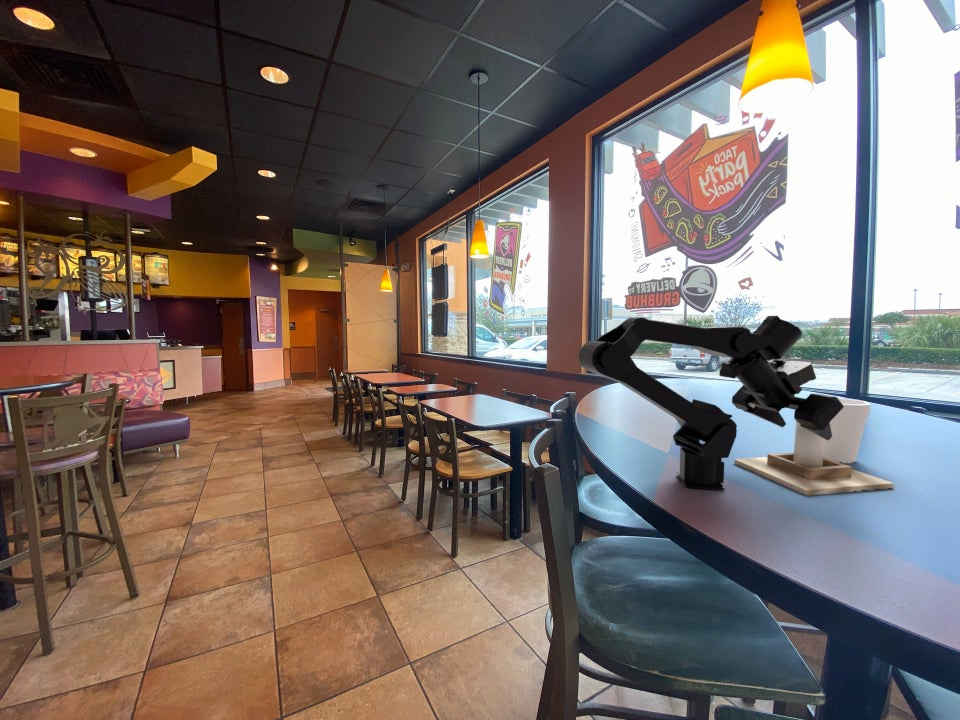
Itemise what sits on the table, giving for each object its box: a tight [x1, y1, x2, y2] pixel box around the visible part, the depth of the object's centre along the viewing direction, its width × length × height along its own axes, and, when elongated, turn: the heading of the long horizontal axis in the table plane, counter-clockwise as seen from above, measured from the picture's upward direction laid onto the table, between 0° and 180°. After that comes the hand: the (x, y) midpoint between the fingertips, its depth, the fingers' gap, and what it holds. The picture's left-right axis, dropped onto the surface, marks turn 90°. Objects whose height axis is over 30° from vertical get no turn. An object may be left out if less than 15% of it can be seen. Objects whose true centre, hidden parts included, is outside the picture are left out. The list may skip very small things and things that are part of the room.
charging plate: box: [734, 451, 895, 496], centre depth 76 cm, size 18×16×3 cm
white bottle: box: [793, 420, 824, 468], centre depth 76 cm, size 4×4×11 cm
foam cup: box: [823, 397, 871, 464], centre depth 85 cm, size 10×9×13 cm
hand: (805, 431), depth 75 cm, fingers open, 9 cm apart
